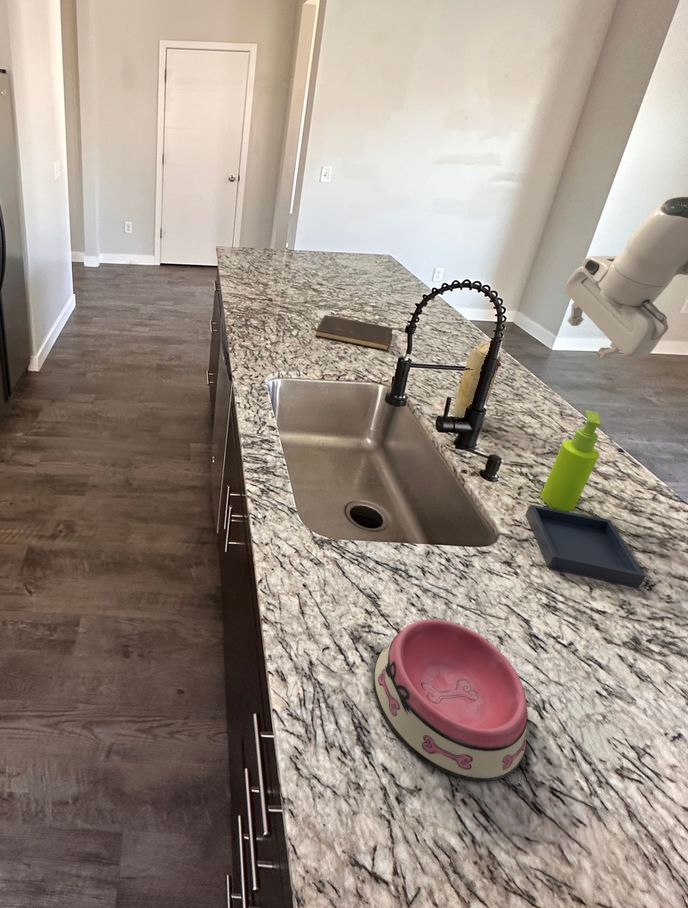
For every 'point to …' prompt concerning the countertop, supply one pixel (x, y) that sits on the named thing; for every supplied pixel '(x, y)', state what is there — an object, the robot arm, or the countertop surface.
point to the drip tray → (583, 546)
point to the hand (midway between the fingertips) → (586, 339)
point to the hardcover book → (354, 332)
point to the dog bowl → (453, 700)
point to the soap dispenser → (572, 467)
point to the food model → (472, 379)
